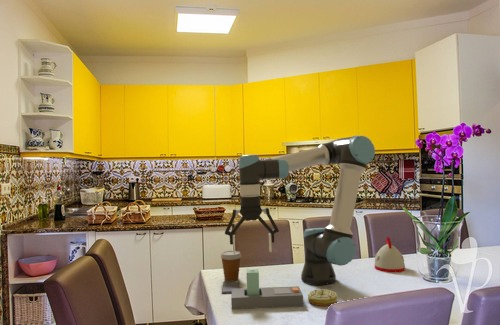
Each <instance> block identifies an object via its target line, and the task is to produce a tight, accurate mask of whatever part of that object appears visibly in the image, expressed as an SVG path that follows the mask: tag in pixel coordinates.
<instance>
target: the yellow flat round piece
mask: <svg viewBox="0 0 500 325" xmlns="http://www.w3.org/2000/svg"><path fill="white" fill-rule="evenodd" d="M307 300H308V302H309V303H310V304H312V305H315V306H318V307H319V306H323V307H328V306H329V305H330V306H332V305H331V304H333V303H334V304H336V302H337V301H338V296H337V293H336V292H335V291H333V290H330V289H326V288H325V289H321V288H319V289H315V290H310V291H309V292H308V293H307ZM334 304H333V305H334ZM330 306H329V307H330Z"/></svg>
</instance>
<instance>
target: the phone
mask: <svg viewBox="0 0 500 325" xmlns="http://www.w3.org/2000/svg"><path fill="white" fill-rule="evenodd" d="M238 288H240V281H224V282H222V288H221V294H222V295H224V294H225V295H230V294H231V295H232V289H238Z"/></svg>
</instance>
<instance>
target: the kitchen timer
mask: <svg viewBox="0 0 500 325" xmlns="http://www.w3.org/2000/svg"><path fill="white" fill-rule="evenodd" d="M385 241H386V242H385V243H386V244H384V245H382V246H381V247H380V249H378V252H377V253H375V255H374V256H375V257H374V269H375V270H377V271H379V272H382V273H389V274H390V273H392V274H397V273H403V272H405V271H406V266H405V265H406V264H405V259H404V255H403V254H402V253H401V252H400V250H398V248H397V247H396V246H394V245H393V244H392V243H391V238H390V237H389V236H388V237H386V239H385Z"/></svg>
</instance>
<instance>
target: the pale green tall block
mask: <svg viewBox="0 0 500 325" xmlns="http://www.w3.org/2000/svg"><path fill="white" fill-rule="evenodd" d="M259 271H260V270H259V268H254V269H253V268H251V269H250V268H249V269H246V271H245V272H246V288H247V296H250V295H259V288H260V276H259V275H260V273H259Z"/></svg>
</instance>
